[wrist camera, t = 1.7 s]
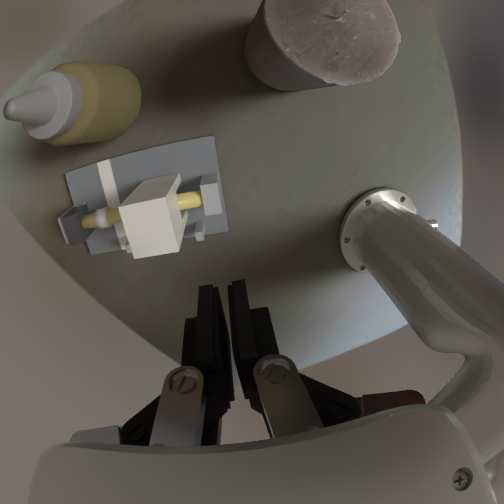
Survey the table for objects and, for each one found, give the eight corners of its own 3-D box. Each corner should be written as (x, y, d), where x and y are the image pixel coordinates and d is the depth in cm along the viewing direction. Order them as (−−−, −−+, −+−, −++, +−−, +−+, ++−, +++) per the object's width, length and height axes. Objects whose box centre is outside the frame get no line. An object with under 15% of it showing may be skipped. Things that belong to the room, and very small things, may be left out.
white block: (179, 173, 27) (165, 197, 20) (188, 214, 29) (179, 251, 22) (143, 180, 27) (118, 207, 20) (153, 221, 29) (134, 259, 22)
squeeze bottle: (105, 151, 27) (3, 207, 11) (74, 98, 23) (-41, 110, 7) (164, 111, 26) (92, 115, 10) (130, 54, 22) (39, 10, 6)
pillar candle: (238, 16, 21) (255, -50, 8) (325, 16, 22) (398, -28, 9) (248, 96, 26) (275, 85, 13) (335, 92, 26) (418, 92, 13)
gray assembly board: (213, 134, 28) (212, 140, 22) (228, 227, 33) (230, 252, 28) (68, 171, 27) (42, 185, 21) (94, 251, 32) (76, 277, 27)
